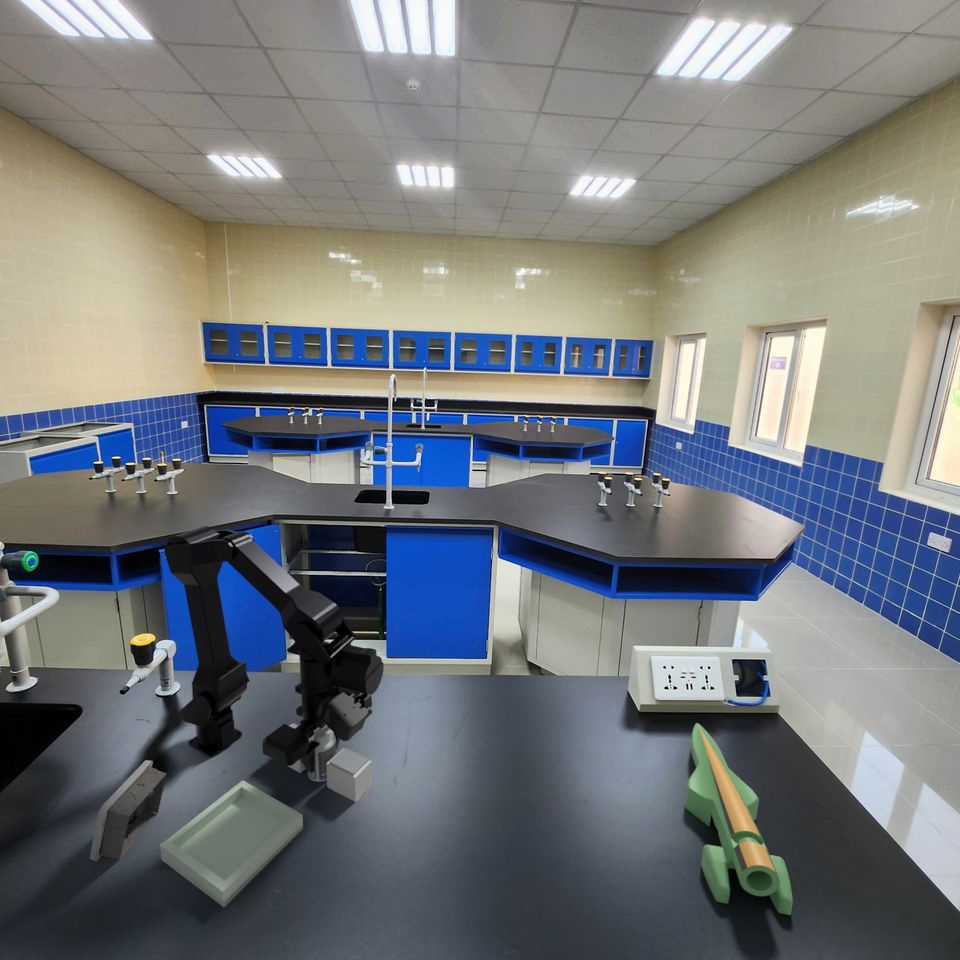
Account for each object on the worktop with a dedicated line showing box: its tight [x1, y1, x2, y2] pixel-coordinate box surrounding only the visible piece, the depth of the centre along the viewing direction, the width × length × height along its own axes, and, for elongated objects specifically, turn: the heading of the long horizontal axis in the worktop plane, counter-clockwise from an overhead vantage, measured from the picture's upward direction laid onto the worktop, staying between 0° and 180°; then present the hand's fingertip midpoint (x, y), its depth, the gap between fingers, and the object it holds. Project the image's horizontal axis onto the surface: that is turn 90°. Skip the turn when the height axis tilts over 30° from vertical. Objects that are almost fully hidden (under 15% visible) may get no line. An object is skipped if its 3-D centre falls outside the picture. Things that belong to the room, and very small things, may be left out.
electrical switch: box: [89, 759, 167, 862], centre depth 73 cm, size 9×5×9 cm, turn 176°
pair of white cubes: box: [287, 723, 373, 803], centre depth 86 cm, size 18×4×5 cm, turn 62°
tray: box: [159, 780, 304, 908], centre depth 73 cm, size 13×13×2 cm
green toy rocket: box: [684, 722, 794, 916], centre depth 81 cm, size 32×10×7 cm, turn 171°
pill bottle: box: [307, 725, 337, 783], centre depth 86 cm, size 5×5×8 cm
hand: (322, 761), depth 86 cm, fingers closed on pill bottle, 5 cm apart
